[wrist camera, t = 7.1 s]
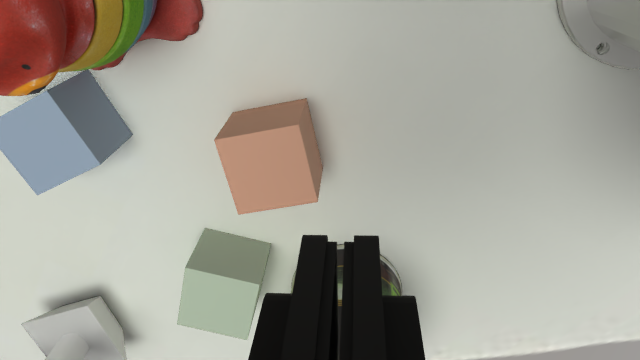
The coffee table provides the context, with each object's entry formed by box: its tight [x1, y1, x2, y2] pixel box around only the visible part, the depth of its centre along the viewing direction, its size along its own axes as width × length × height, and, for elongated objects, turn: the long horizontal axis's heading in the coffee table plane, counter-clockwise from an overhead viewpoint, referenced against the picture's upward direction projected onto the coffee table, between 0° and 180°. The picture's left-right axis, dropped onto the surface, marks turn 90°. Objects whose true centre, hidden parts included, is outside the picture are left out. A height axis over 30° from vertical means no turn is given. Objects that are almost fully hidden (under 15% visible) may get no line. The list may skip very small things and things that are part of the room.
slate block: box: [0, 70, 133, 195], centre depth 39 cm, size 6×6×6 cm
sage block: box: [177, 228, 271, 340], centre depth 45 cm, size 6×6×6 cm
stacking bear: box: [0, 0, 203, 96], centre depth 29 cm, size 11×10×18 cm
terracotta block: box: [214, 98, 323, 215], centre depth 39 cm, size 6×6×6 cm
